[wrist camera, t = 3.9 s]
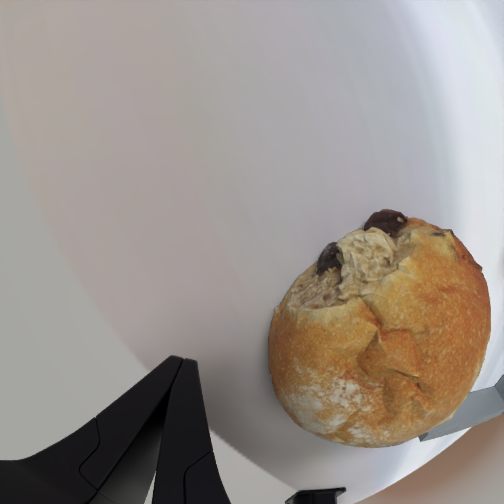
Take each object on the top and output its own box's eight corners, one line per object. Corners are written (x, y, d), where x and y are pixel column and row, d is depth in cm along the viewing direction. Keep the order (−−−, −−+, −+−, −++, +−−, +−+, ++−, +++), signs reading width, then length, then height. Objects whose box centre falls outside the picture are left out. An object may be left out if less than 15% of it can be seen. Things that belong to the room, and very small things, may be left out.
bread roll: (265, 324, 16) (259, 455, 11) (277, 175, 9) (274, 471, 3) (409, 321, 16) (426, 433, 10) (492, 204, 8) (565, 369, 3)
